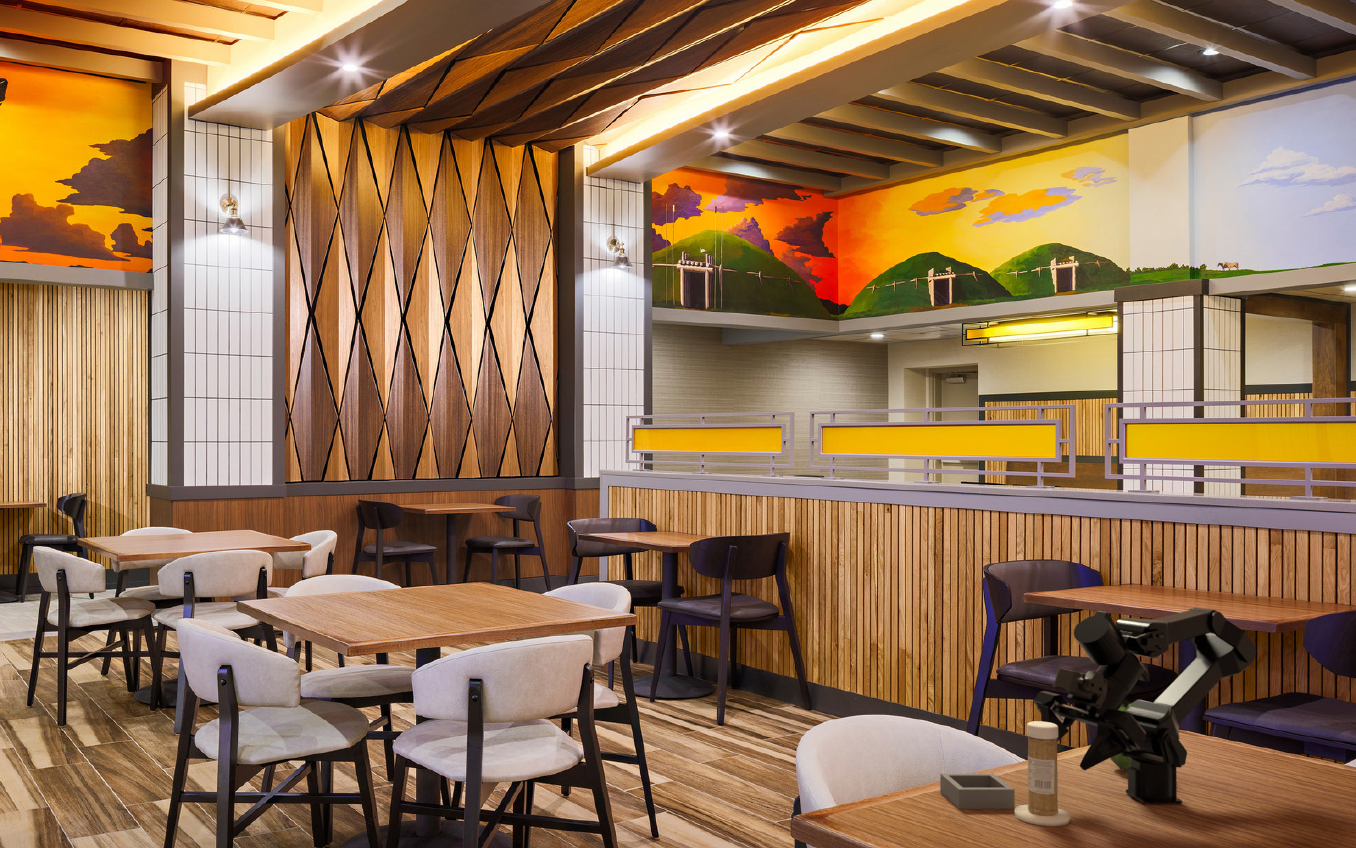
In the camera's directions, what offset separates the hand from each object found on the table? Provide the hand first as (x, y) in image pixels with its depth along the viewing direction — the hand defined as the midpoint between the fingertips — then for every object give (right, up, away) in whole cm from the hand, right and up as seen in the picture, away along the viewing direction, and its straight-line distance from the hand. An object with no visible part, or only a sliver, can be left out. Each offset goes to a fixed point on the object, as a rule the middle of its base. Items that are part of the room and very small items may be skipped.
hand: (1059, 761), depth 164 cm
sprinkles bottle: (-3, -8, -2) cm, 8 cm away
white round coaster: (-4, -8, -2) cm, 9 cm away
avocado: (+22, -10, +26) cm, 36 cm away
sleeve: (-11, -8, +6) cm, 15 cm away
